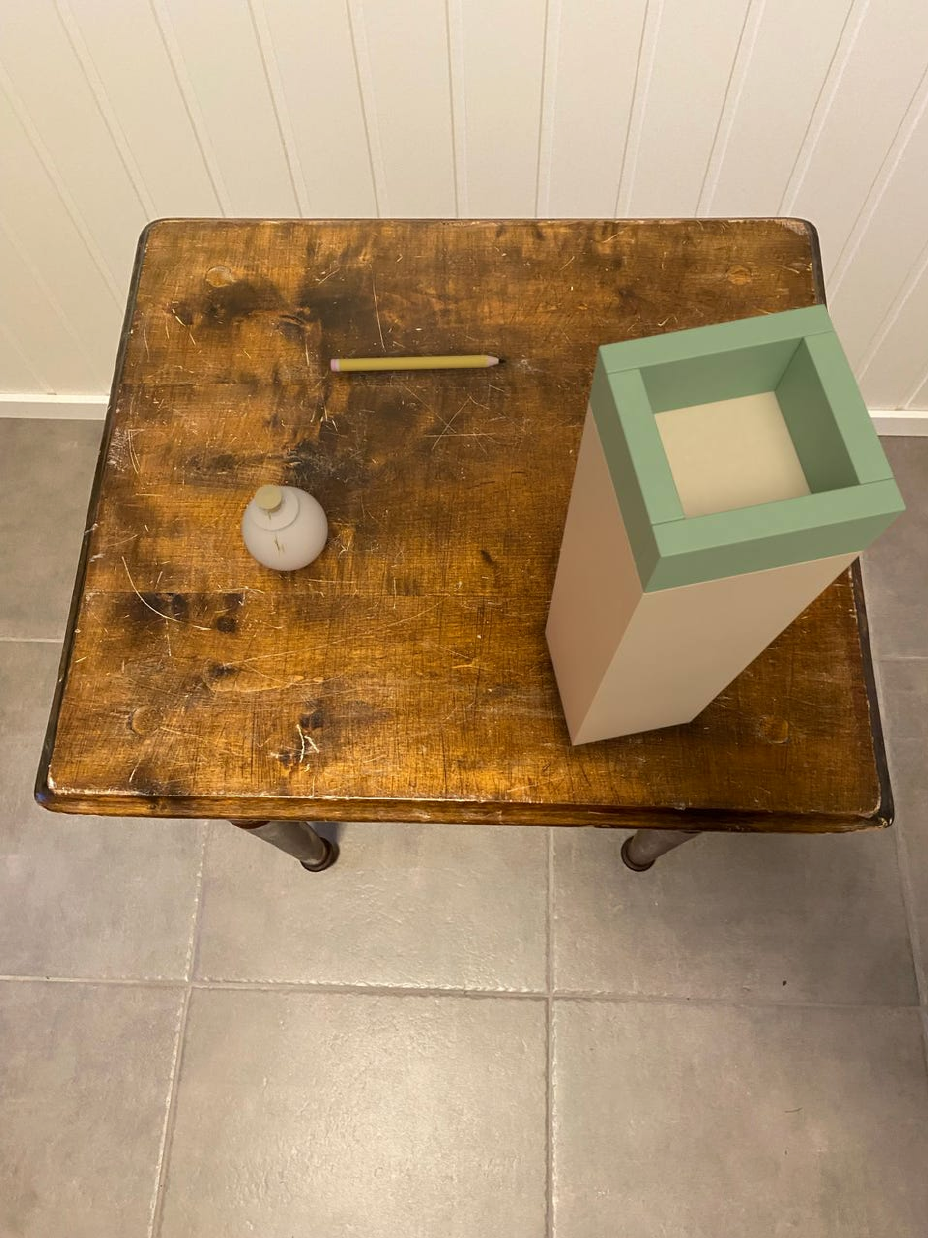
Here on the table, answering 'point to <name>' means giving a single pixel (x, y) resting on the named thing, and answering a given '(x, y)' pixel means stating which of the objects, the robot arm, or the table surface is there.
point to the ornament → (284, 527)
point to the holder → (707, 513)
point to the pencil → (414, 363)
